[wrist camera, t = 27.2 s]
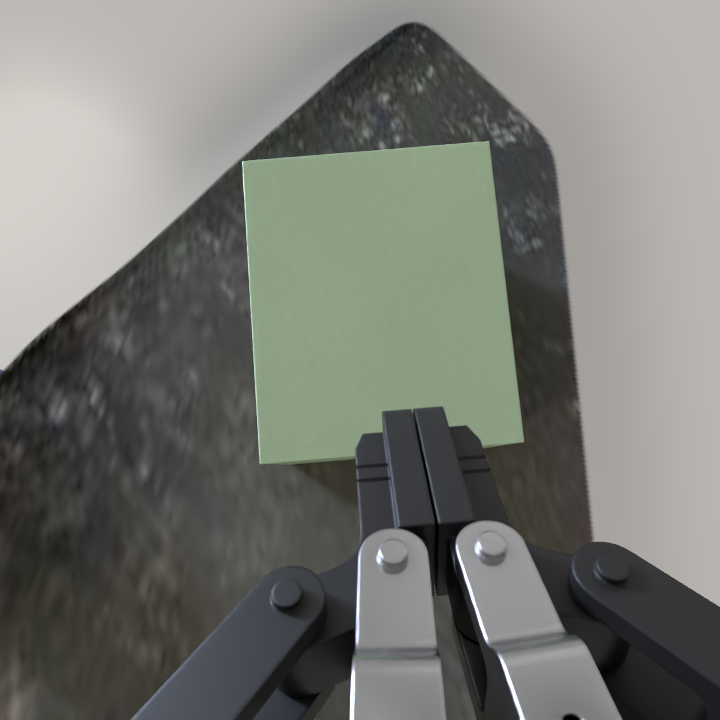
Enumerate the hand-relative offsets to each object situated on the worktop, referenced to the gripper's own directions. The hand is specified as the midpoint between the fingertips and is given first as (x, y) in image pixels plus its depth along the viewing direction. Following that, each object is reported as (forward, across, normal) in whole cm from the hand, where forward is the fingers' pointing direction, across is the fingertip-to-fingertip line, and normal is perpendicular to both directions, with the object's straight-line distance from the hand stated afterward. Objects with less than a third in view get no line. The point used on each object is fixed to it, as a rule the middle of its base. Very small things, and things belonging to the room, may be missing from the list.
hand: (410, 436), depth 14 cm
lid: (+17, 0, +5) cm, 18 cm away
